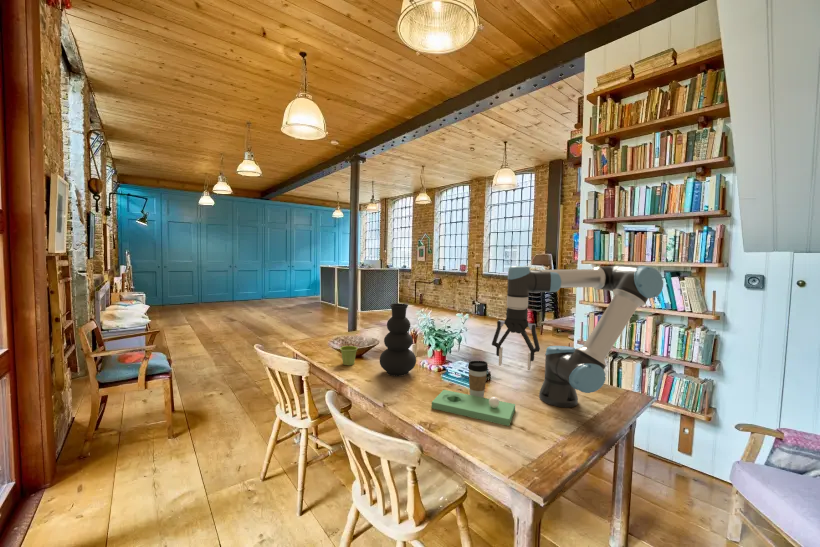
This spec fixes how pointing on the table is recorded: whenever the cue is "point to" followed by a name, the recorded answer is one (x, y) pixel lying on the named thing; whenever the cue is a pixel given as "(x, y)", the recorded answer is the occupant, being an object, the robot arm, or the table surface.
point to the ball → (494, 402)
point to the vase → (398, 343)
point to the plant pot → (348, 354)
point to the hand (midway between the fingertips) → (514, 366)
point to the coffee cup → (477, 377)
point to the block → (474, 407)
